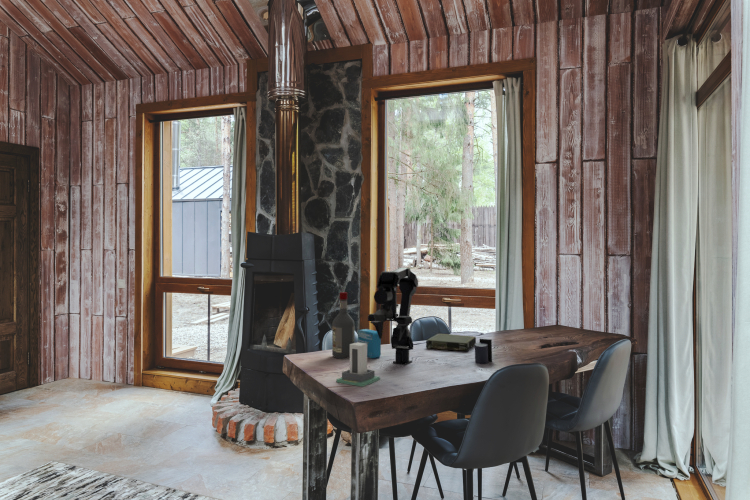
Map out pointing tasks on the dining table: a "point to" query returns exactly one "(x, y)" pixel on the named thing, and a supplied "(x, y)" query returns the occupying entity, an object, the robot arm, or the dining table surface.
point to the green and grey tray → (358, 378)
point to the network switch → (451, 342)
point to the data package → (370, 342)
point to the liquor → (342, 331)
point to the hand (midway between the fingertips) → (389, 339)
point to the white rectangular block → (358, 358)
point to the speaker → (483, 351)
